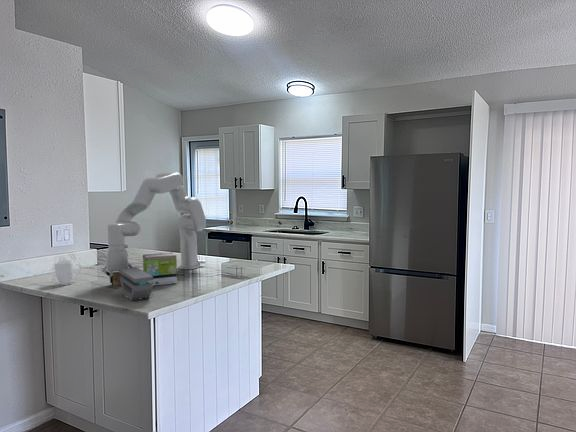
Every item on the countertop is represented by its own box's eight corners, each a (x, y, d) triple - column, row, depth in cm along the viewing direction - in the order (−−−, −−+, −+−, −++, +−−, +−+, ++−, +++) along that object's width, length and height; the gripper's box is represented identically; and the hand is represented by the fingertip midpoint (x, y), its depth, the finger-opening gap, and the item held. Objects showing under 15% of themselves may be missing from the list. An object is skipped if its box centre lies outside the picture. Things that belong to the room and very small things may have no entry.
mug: (58, 287, 218) (56, 264, 217) (54, 284, 224) (52, 261, 223) (84, 283, 225) (82, 261, 224) (79, 280, 232) (78, 258, 231)
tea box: (146, 287, 215) (145, 257, 214) (143, 282, 224) (141, 254, 223) (177, 283, 222) (176, 254, 221) (173, 279, 231) (171, 251, 230)
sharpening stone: (120, 292, 207) (119, 269, 206) (137, 289, 212) (136, 267, 211) (135, 304, 187) (134, 279, 186) (154, 301, 191) (153, 276, 190)
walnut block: (124, 282, 224) (123, 271, 224) (123, 285, 219) (123, 273, 219) (113, 283, 223) (113, 272, 222) (113, 286, 218) (112, 274, 217)
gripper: (135, 245, 225) (136, 280, 227) (98, 248, 220) (100, 283, 222) (134, 248, 218) (136, 284, 220) (97, 250, 213) (99, 287, 215)
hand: (118, 283), depth 221 cm, fingers closed on walnut block, 5 cm apart
